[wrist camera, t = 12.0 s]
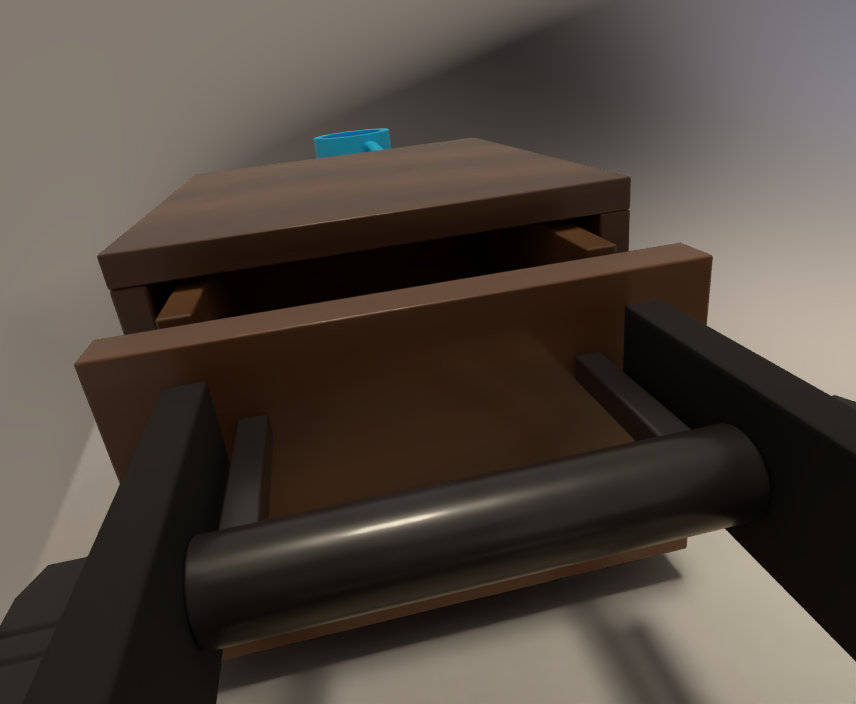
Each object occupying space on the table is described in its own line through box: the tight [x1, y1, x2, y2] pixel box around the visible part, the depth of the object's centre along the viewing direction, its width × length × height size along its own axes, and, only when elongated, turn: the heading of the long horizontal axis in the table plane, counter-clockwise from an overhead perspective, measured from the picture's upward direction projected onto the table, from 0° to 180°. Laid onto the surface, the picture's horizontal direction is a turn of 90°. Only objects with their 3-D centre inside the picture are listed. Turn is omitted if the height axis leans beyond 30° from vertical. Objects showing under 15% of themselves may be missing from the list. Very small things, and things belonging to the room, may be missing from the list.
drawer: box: [74, 220, 771, 660], centre depth 18 cm, size 20×13×8 cm, turn 11°
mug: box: [314, 129, 391, 158], centre depth 65 cm, size 12×8×8 cm
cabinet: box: [97, 138, 631, 335], centre depth 25 cm, size 16×14×10 cm
